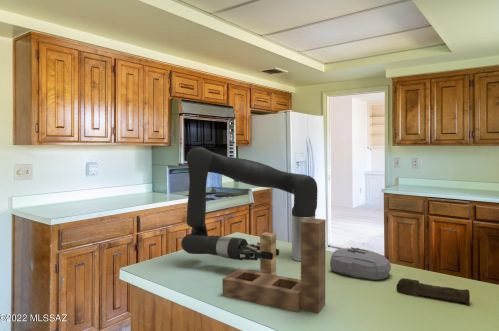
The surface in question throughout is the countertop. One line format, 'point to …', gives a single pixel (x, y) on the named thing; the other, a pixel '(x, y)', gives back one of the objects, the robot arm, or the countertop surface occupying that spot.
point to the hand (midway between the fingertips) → (275, 254)
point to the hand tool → (432, 291)
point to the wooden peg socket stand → (283, 288)
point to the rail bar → (268, 246)
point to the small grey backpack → (360, 263)
